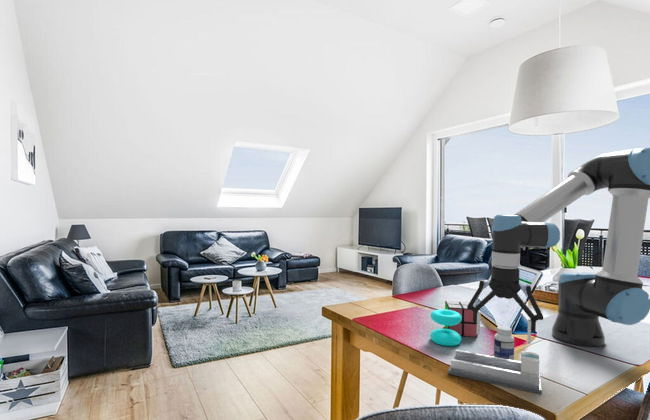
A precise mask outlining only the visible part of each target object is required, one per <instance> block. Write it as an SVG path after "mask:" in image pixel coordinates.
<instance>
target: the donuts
mask: <svg viewBox="0 0 650 420" xmlns="http://www.w3.org/2000/svg"><path fill="white" fill-rule="evenodd" d="M430 318H431V321H433V322H434V323H436V324H438V325H441V326H445V325H447V326H452V325H457V324H459V323H460V322H461V320H462V317H461V315H460V314H459V313H458V312H456V311H452V310H447V309H445V308H444V309H443V308H441V309H435V310H432V312H431V313H430ZM429 336H430V340H431V341H432V342H434V343H435V344H438V345H440V346H443V347H444V346H445V347H452V346H453V347H456V346H458V345H460V344H461V342H462V336H460V335H459V334H458V333H457V332H456V331H453V330H450V329H446V328H435V329H434V330H432V331H431V332H430V335H429Z"/></svg>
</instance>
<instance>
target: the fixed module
mask: <svg viewBox="0 0 650 420" xmlns="http://www.w3.org/2000/svg"><path fill="white" fill-rule="evenodd" d="M520 352H521V353H520V361H521V372H522V373H527V374H532V375H537V376H539V372H540V355H539V353H537V352H531V351H525V350H521V351H520Z"/></svg>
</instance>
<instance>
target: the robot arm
mask: <svg viewBox="0 0 650 420" xmlns="http://www.w3.org/2000/svg"><path fill="white" fill-rule="evenodd" d="M602 189H607V191H608V193H610V194H611V196H612V201H611V208H610V215H609V222H608V228H607V235H606V242H605V243H606V244H605V249H604V250H605V251H604V256H603V264H602V269H601V270H600V271H598V272H597V273H594V272H562V273H561V274H560V275H559V277H558V278H559V279H558V283H557V284H558V286H557V287H558V298H557V300H558V308H557V309H558V310H557V315H556V318H555V321H554V323H553V325H552V328H551V329H552V330H551V331H552V332H551V334H552V335H551V336H553V338H556V339H558V340H559V341H562V342H565V343H568V344H572V345H576V346H577V345H578V346H584V347H601V346H605V341H606V340H605V339H606V338H605V334H604V331H603V329H602V325H601V323H600V319H599V318H603V319H606V320H608V321H610V322H612V323H617V324H621V325H624V326H633V325H636V324H638V323H640V322H641V321H643V320H645V319H646V317H647V316H648V315H649V313H650V295H649V293H648V292H647V291H645V290H644V289H643V285H644V284H643V283H644V282H643V281H642V279H640V277H639V276H638V273H639V266H640V259H641V252H642V247H643V245H642V244H643V238H644V232H645V226H646V225H645V224H646V220H647V219H646V218H647V210H648V205H649V199H650V147H636V148H633V149H626V150H620V151H613V152H606V153H603V154H599V155H597V156H595V157H593V158H591V159H589V160H587V161H586V162H584V163H582V164H581V165H579V166H578V167H576V168H575V169H574V170H572V171H570V172H569V173H568V174H567V178H566V179H564V180H563V181H561V182H560V183H559V184H556V185H555V186H554V187H552V188H551V189H549V190H548V191H547V192H545V193H544V194H542V195H540V197H537V198H536V199H535V200H533V201H532V202H531V203H528V205H526V206H524V207H523V208H522V209H520V210H519V211H517V212H516V213H515V214H496V215H495V216H494V217H493V222H492V226H491V235H492V239H491V240H492V243H491V246H492V247H491V249H492V251H491V265H493V266H491V269H490V270H491V273H490V281H487V280H485V279H480V281H479V283H478V284H479V285H478V288H477V289H476V291H475V293H474V295H473V296H472V298H471V299H470V301H469V302H470V303H469V304H468V306H467V308H468V309H470V310H472V311H473V322H476V323H477V333H476V334H478V335H480V333H481V315H482V313H481V308H483V307H484V306H485V305H486V304H488V302H490V301H491V299H493V298H494V297H497V298H500V299H507V300H511V299H513V300H514V301H515V302H516V303H517V305H519V306H520V308H521V310H523V312H525V314H526V315H527V317H528V318H527V334H526V335H527V339H526V341H527V344H530V345H531V338H532V337H531V336H532V335H531V334H532V332H533V333H535V332H536V327H537V326H536V325H537V324H536V323H537V321H542V320H544V315H543V313H542V311H541V309H540V307H539V305H538V303H537V300H536V299H535V297H534V295H533V293H532V286H531V285H530V284H526V285H523V284H522V285H521V284H520V269H519V267H520V264H521V263H520V261H521V248H526V247H527V248H543V249H546V248H554V247H555V246H557V245H558V244H559V242H560V240H561V231H560V229H559V227H558V226H557V225H556V224H555V223H552V222H547V221H548V220H549V219H550V218H552V217H553V216H556V215H557V214H558V213H559V212H561V211H562V210H563V209H565V208H567V207H568V206H570V205H571V204H572V203H574V202H575V201H577V200H579V199H580V198H581V197H583V196H590V195H592V194H593V193H594V192H596V191H599V190H602ZM488 286H489V287H488ZM487 287H488V288H490V289H491V291H490V292H489V293H488V294H487V295H486V296H485V297H484V298H483V299H482V300H480V302H478V304H476V305H475V303H476V301H477V300H478V298H479V297H480V295H481V293H482V291H483V290H484V289H487ZM520 291H523V293H524V294H526V296H527V298H528V300H529V302H530V304H531V305H532V308H533V310H534V312H535V314H534V312H533V311H532V310H531V309H530V307H528V305H527V304H526V303H525V302H524V300H523V299H522V298H521V297H520V296H519V294H518V293H519V292H520ZM473 304H474V305H475V306H473Z"/></svg>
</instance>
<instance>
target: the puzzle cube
mask: <svg viewBox="0 0 650 420" xmlns="http://www.w3.org/2000/svg"><path fill="white" fill-rule="evenodd" d="M469 303H470V301H457V300H456V301H455V300H445V302H444V304H445V305H444V309H447V310H452V311H456V312H458V313H459V314H460V315H461V317H462V320H461V322H460V323H459V324H457V325H452V326H447V325H444V327H445V328H444V329H450V330H453V331H456V332H457V333H458V334H459V335H460V336H461V337H471V338H478V337H479V336H478V334H476V333H477V323H476V322H473V311H472V310H470V309H468V308H467V306H468V304H469ZM473 306H476V305H475V303H474V304H473Z"/></svg>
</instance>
